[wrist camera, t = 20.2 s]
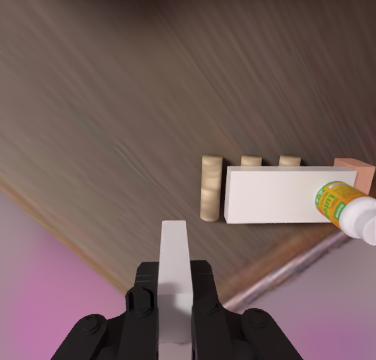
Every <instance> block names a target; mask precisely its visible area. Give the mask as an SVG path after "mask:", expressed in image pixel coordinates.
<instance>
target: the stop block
mask: <svg viewBox="0 0 376 360" xmlns="http://www.w3.org/2000/svg"><path fill="white" fill-rule="evenodd" d="M333 167H348V168H350V169H353V170H355V171H357V173H356V178H355V182H354V186H353V187H354V188H356V189H358V190H359V191H361V192H363V193H365V194H367V195H368V194H369V191H370V187H371V183H372V179H373V175H374V171H375V166H372V165H369V164H367V163H364V162H361V161H359V160H356V159H353V158H335V161H334V166H333Z"/></svg>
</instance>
